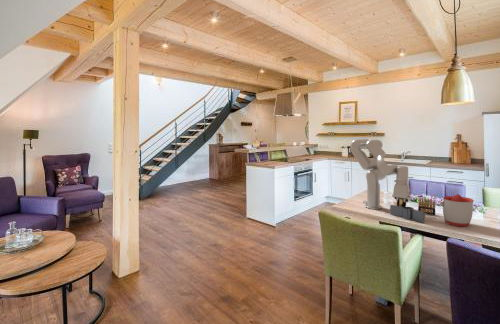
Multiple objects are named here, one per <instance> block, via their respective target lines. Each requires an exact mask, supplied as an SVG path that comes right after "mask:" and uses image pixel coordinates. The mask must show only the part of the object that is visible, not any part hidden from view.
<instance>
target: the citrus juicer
mask: <svg viewBox="0 0 500 324" xmlns="http://www.w3.org/2000/svg"><path fill="white" fill-rule="evenodd" d="M439 206H442V214H443V218H444V221H445V223H446V224H448V225H450V226H455V227H468V226H469V225H470V224H471V221H472V218H473V213H474V212H473V210H474V199H473V198H470V197H466V196H462V195H460V194H458V193H457V194H455V195H446V196H445V195H444V197H443V201H440V203H439Z"/></svg>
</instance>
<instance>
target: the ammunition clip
mask: <svg viewBox="0 0 500 324" xmlns="http://www.w3.org/2000/svg"><path fill="white" fill-rule="evenodd" d="M432 199H433V200H432ZM417 206H418V207H417V210H418V211H422V212H424V215H430V216H436V201H435V198H430V199H429V198H426V197H422V198H421V197H419V199H418V205H417Z"/></svg>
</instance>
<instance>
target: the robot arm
mask: <svg viewBox="0 0 500 324" xmlns="http://www.w3.org/2000/svg"><path fill="white" fill-rule="evenodd" d="M365 149H366V150H368V152H369V153H370V154H371V155H372V156H373V157H370V158H369V156H368V155H367V154H366V153H365V151H363V150H365ZM350 152H351V154H352V155H353V157H354V158H355V159H356V161H357V162H358V164H359V165H360V168H362V169H363V170H364V171H367V172H366V173H365V178H366V179H365V180H366V186H367V187H366V188H367V189H366V190H367V191H366V193H367V194H366V195H367V196H366V197H367V198H366V200H363V201H362V204H365V205H364V206H366V207H367V208H366V207H365V208H366V209H369V208H371V210H381V209H382V208H383V206H382V205H381V185H380V182H379V181H382V180H384V179H385V178H386V177H387V176H393V175H394V176H395V175H396V178H395V179H396V180H395V179H394V180H393V181H394V186H393V191H392V196H391V198H394V199H395V200H396V206H399V198H403V200H404V202H403V207H407V202H408V201H410V200H412V197H411V190H410V185H409V166H406V165H399V164H390V165H389V164H388V163H387V162H386V160H385V156H386V152H385V150H384V149H383V142H382V141H381V140H379V139H373V138H360V139H359V138H358V139H354V140H352V142H350Z"/></svg>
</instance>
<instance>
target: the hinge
mask: <svg viewBox="0 0 500 324" xmlns="http://www.w3.org/2000/svg"><path fill="white" fill-rule="evenodd" d="M389 205H390V206H389V209H390V210H389V215H390V216H394V215H395V216H396V217H398V218H399V217H400V218H402V219H405V220H411V221H415V222H418V223H421V224H425V214H424V212H422V211H418V209H415V208H414V207H412V206H405V207H401V206H397V205H394V204H389Z"/></svg>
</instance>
